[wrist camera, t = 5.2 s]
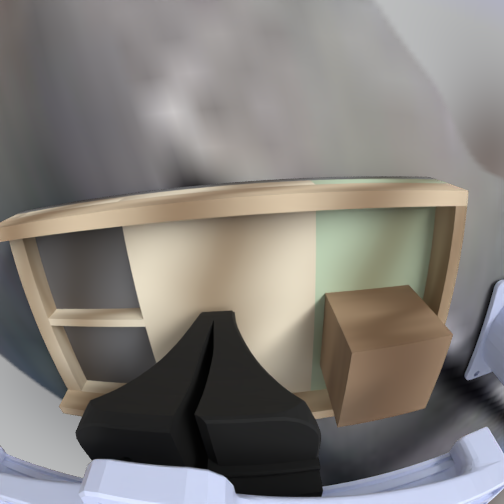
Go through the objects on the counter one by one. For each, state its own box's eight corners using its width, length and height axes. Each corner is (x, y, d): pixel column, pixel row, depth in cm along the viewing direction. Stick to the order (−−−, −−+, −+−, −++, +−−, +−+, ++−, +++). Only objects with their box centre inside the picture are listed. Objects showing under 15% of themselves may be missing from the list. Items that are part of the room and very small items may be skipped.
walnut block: (408, 284, 13) (453, 334, 9) (394, 353, 15) (424, 408, 11) (325, 292, 13) (352, 352, 9) (319, 364, 15) (337, 427, 11)
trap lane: (429, 177, 13) (468, 191, 10) (401, 363, 17) (420, 397, 14) (22, 211, 13) (-15, 230, 10) (80, 379, 17) (63, 413, 14)
